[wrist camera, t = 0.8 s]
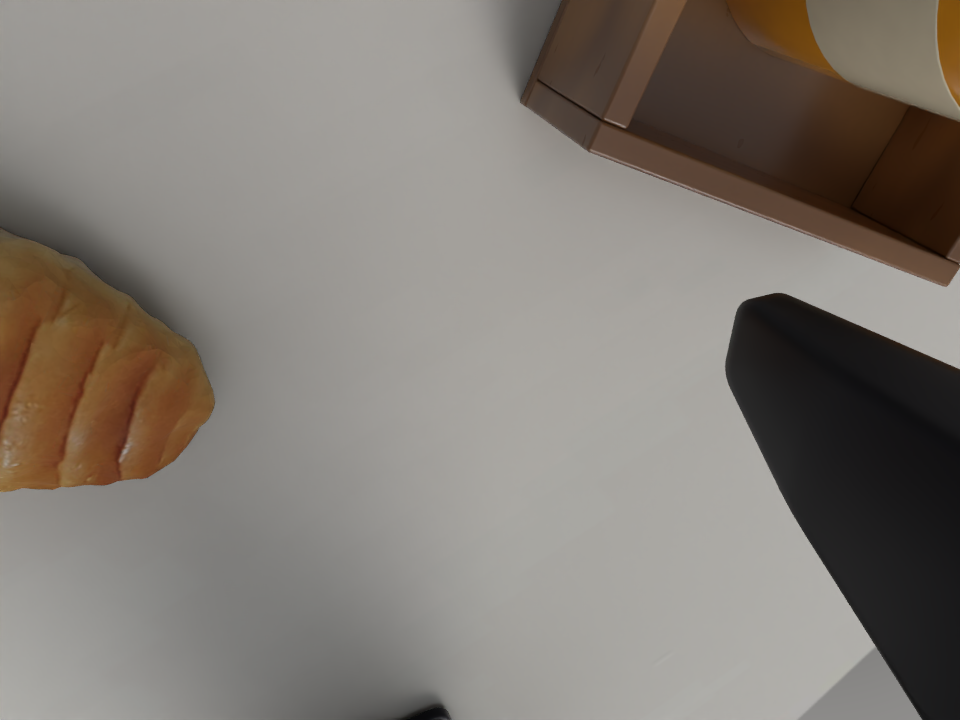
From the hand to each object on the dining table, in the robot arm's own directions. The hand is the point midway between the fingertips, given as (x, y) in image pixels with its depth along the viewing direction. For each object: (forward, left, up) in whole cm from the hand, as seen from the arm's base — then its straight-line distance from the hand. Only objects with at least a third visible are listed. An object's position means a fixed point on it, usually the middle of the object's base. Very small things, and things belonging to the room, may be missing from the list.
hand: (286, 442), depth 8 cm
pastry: (-4, +7, -15) cm, 17 cm away
